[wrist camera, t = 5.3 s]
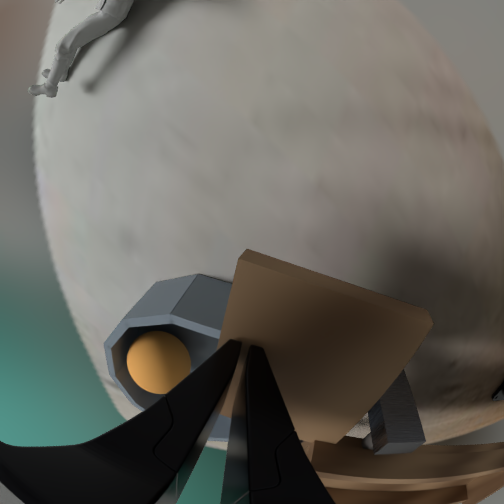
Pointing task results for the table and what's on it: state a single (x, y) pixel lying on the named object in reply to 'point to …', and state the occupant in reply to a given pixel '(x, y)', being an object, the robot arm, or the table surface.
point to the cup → (172, 332)
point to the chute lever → (346, 382)
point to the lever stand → (395, 420)
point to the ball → (158, 361)
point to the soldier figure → (81, 42)
